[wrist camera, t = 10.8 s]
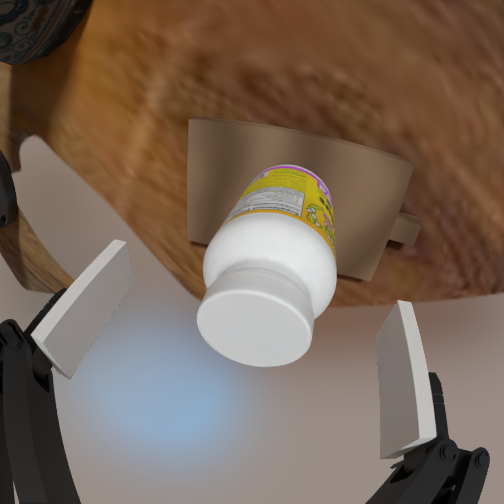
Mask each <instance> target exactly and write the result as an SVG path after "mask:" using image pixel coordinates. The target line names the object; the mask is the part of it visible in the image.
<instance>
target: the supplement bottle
mask: <svg viewBox="0 0 504 504" xmlns="http://www.w3.org/2000/svg"><path fill="white" fill-rule="evenodd" d="M203 275H204V281H205V285H206V288H207V291H206V293H205V296H204V298H203V300H202V303H201V305H200V307H199V309H198V313H197V325H198V328H199V331H200V333H201V335H202V336H203V338H204V339H205V340H206V342H207V343H208V344H209V345H210V346H211V347H212V348H213V349H215V350H216V351H217V352H219V353H221V354H222V355H224V356H225V357H227V358H229V359H231V360H234V361H236V362H239V363H242V364H246V365H251V366H256V367H276V366H282V365H286V364H289V363H292V362H294V361H296V360H297V359H299V358H300V357H302V356H303V355H304V354H305V353H306V351H307V350H308V349H309V347H310V344H311V340H312V333H313V325H314V319H315V318H317V317H318V316H319V315H320V314H321V313H322V312H323V311H324V310H325V309H326V307H327V306H328V305H329V303H330V301H331V299H332V297H333V294H334V291H335V288H336V281H337V267H336V247H335V229H334V215H333V205H332V200H331V196H330V193H329V191H328V189H327V187H326V186H325V184H324V183H323V181H322V180H321V179H320V178H319V177H318V176H317V175H315V174H314V173H313V172H311V171H309V170H307V169H305V168H303V167H300V166H296V165H278V166H274V167H271V168H268V169H266V170H264V171H263V172H261V173H260V174H259V175H257V176H256V177H255V178H254V179H253V181H252V182H251V183H250V184H249V186H248V187H247V189H246V190H245V191H244V193H243V194H242V196H241V197H240V199H239V200H238V202H237V203H236V205H235V206H234V208H233V209H232V211H231V212H230V214H229V215H228V217H227V218H226V220H225V221H224V223H223V224H222V225H221V227H220V228H219V230H218V231H217V233H216V234H215V236H214V237H213V239H212V240H211V242H210V244H209V246H208V248H207V250H206V253H205V256H204V261H203Z"/></svg>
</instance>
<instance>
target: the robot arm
mask: <svg viewBox="0 0 504 504" xmlns="http://www.w3.org/2000/svg"><path fill="white" fill-rule="evenodd" d="M16 214H17V198H16V192H15V187H14V183H13V179H12V176H11V173H10V170H9V167H8V165H7V162H6V160H5V158H4V156H3V155H2V153H1V152H0V229H2V228H4V227H6V226H7V225H9V224H10V223H11V222H13V221H14V220H15V218H16ZM134 284H135V282H134V277H133V272H132V268H131V263H130V257H129V252H128V247H127V243H126V242H123V241H119V240H114V241H113V242H112V243H111V244H110V245H109V246H108V247H107V248H106V249H105V250H104V251H103V252H102V253H101V254H100V255H99V256H98V257H97V258H96V259H95V260H94V261H93V262H92V263H91V264H90V265H89V266H88V267H87V269H86V270H85V271H84V272H83V273H82V274H81V275H80V276H79V277H78V278H77V279H76V281H75V282H74V283H73V284H72V285H71V286H70V287H69V288H68V289H65V288H63V289H62V290H60V291H59V292H57V293H56V294H55V295H54V296H53V297H52V298H51V299H50V301H49V303H47V304H46V305H45V307H44V308H43V309H42V310H41V311H40V312H39V314H38V315H37V316H36V317H35V319H34V320H33V321H32V322H31V324H30V325H29V326H28V327H27V329H26V330H25V331H24V332H22V330H21V328H20V327H19V325H18V324H17V322H16V321H15V320H13V319H7V320H5V321H4V322H2V323H1V324H0V504H15V499H14V488H13V481H14V485H15V488H16V492H17V496H18V499H19V504H81V502H80V499H79V497H78V494H77V491H76V488H75V485H74V482H73V479H72V475H71V472H70V469H69V465H68V461H67V458H66V454H65V450H64V445H63V441H62V437H61V432H60V426H59V421H58V415H57V409H56V402H55V394H54V387H53V386H54V385H53V375H52V371H51V368H52V366H54V368H55V369H56V370H57V371H58V372H59V373H60V374H62V375H63V376H65V377H67V378H68V379H71V378H72V376H73V374H74V373H75V371H76V369H77V368H78V366H79V365H80V363H81V361H82V360H83V358H84V357H85V355H86V353H87V352H88V350H89V349H90V347H91V346H92V344H93V342H94V341H95V340H96V338H97V337H98V335H99V334H100V332H101V331H102V329H103V328H104V326H105V325H106V323H107V322H108V320H109V319H110V318H111V316H112V315H113V313H114V312H115V310H116V309H117V308H118V306H119V305H120V303H121V302H122V301H123V299H124V298H125V297H126V295H127V294H128V292H129V291H130V290H131V288H132V287H133V286H134ZM375 344H376V354H377V365H378V377H379V394H380V421H381V422H380V427H381V441H380V442H381V443H380V459H394V458H398V457H400V456H402V455H404V460H402V461H400V462H398V463H396V464H394V465H393V466H392V467H390V468H392V469H393V468H395V467H397V468H396V469H395V470H394V471H393V473H392V474H391V475H390V476H389V478H388V479H387V480H386V481H385V482H384V484H383V485H382V486H381V487H380V488H379V490H377V492H376V493H375V494H374V495H373V496H372V497H371V498H370V499H369V500H368V501H367V502H366V503H365V504H477V503H478V501H479V498H480V494H481V492H482V489H483V485H484V482H485V478H486V475H487V471H488V467H489V462H490V457H489V453H488V451H487V450H486V449H485V448H482V447H480V448H477V449H475V450H474V451H472V452H471V451H467V450H463V449H459V448H458V447H457V445H456V443H455V442H454V441H453V440H451V439H449V435H448V427H447V419H446V412H445V405H444V398H443V396H442V394H443V392H442V387H441V382H440V380H439V379H438V377H437V375H436V373H431V372H428V371H427V365H426V360H425V356H424V351H423V347H422V342H421V338H420V334H419V330H418V326H417V322H416V318H415V315H414V311H413V307H412V304H411V302H405V301H400V300H397V302H396V304H395V306H394V307H393V309H392V311H391V312H390V314H389V316H388V317H387V319H386V320H385V322H384V324H383V325H382V327H381V328H380V330H379V331H378V333H377V335H376V336H375ZM454 486H455V487H454ZM453 488H454V490H453Z"/></svg>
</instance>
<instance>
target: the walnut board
mask: <svg viewBox="0 0 504 504" xmlns="http://www.w3.org/2000/svg"><path fill="white" fill-rule="evenodd" d="M278 165H296V166H300V167H303V168H305V169H307V170H309V171H311V172H313V173H314V174H315V175H317V176H318V177H319V178H320V179H321V180H322V181H323V183H324V184H325V186H326V187H327V189H328V191H329V193H330V196H331V200H332V205H333V215H334V229H335V247H336V267H337V274H341V275H345V276H350V277H354V278H359V279H363V280H368V281H371V279H372V276H373V274H374V272H375V270H376V268H377V265H378V263H379V261H380V259H381V256H382V254H383V252H384V249H385V247H386V244H387V242H388V239H390V240H393V241H397V242H401V243H405V244H408V245H412V246H413V245H414V243H415V240H416V238H417V236H418V233H419V231H420V229H421V226H422V225H421V223H420V221H419V220H418V218H417V217H415V216H412V215H409V214H405V213H402V212H399V211H400V208H401V205H402V202H403V200H404V197H405V194H406V191H407V188H408V185H409V182H410V179H411V175H412V172H413V169H414V166H415V165H414V164H413V163H412V162H411V161H410V160H408V159H406V158H403V157H400V156H397V155H393V154H390V153H387V152H384V151H381V150H377V149H374V148H371V147H367V146H363V145H360V144H356V143H352V142H349V141H345V140H341V139H337V138H332V137H328V136H324V135H319V134H315V133H310V132H305V131H300V130H295V129H289V128H284V127H278V126H272V125H265V124H258V123H251V122H243V121H235V120H226V119H216V118H204V117H195V118H192V119H189V129H188V158H187V235H188V240H189V241H193V242H198V243H202V244H207V245H209V244H210V242H211V240H212V239H213V237H214V236H215V234H216V233H217V231H218V230H219V228H220V227H221V225H222V224H223V223H224V221H225V220H226V218H227V217H228V215H229V214H230V212H231V211H232V209H233V208H234V206H235V205H236V203H237V202H238V200H239V199H240V197H241V196H242V194H243V193H244V191H245V190H246V189H247V187H248V186H249V184H250V183H251V182H252V181H253V179H254V178H255V177H256V176H257V175H259V174H260V173H261V172H263V171H264V170H266V169H268V168H271V167H274V166H278Z"/></svg>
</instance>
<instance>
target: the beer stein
mask: <svg viewBox="0 0 504 504" xmlns="http://www.w3.org/2000/svg"><path fill="white" fill-rule="evenodd" d="M90 2H91V0H0V62H4V63H7V64H9V65H22V64H25V63H27V62H29V61H31V60H34V59H36V58H40V57H44V56H47V55H48V54H50V53H51V52H52V51H54V50H55V49H56V48H57V47H59V46H60V45H61V44H63V43H64V42H65V41H66V40H67V38H68V37H69V36H70V34H71V33H72V31H73V30H74V29H75V27H76V26H77V25H78V23H79V22H80V21H81V19H82V18H83V17H84V14H85V12H86V10H87V8H88V6H89V4H90Z"/></svg>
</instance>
